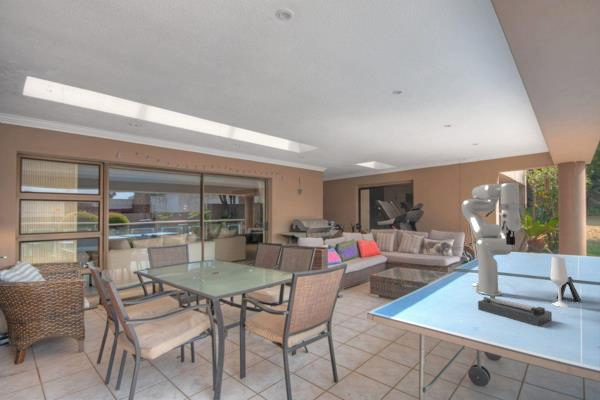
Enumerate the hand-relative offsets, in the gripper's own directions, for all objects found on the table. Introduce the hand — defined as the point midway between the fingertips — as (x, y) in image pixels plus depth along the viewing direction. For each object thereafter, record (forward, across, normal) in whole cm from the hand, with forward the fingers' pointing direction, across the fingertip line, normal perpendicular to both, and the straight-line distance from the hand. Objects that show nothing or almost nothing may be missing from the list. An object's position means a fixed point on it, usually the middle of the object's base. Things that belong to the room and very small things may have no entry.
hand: (510, 244), depth 145 cm
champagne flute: (+31, +24, -10) cm, 40 cm away
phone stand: (+31, +40, -8) cm, 51 cm away
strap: (+26, -13, -5) cm, 30 cm away
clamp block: (+30, -13, -6) cm, 34 cm away
